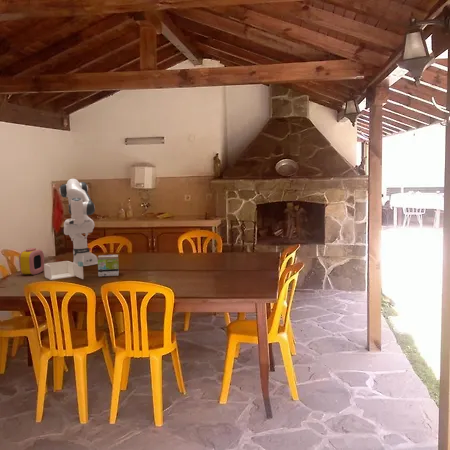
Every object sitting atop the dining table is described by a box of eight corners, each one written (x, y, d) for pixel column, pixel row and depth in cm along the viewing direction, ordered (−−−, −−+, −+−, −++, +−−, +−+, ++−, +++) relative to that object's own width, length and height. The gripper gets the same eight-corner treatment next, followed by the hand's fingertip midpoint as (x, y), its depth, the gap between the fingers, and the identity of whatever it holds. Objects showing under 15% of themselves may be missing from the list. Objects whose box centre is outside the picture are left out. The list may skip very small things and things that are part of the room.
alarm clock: (32, 276, 373) (30, 250, 371) (19, 276, 375) (17, 250, 373) (45, 271, 391) (44, 247, 389) (33, 271, 393) (31, 246, 391)
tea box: (98, 277, 364) (97, 257, 363) (98, 274, 374) (97, 255, 373) (119, 275, 367) (118, 256, 366) (119, 273, 377) (118, 253, 375)
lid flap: (73, 275, 367) (72, 259, 366) (76, 275, 368) (75, 259, 367) (81, 279, 353) (80, 262, 352) (84, 278, 355) (83, 262, 353)
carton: (68, 273, 380) (67, 260, 379) (75, 276, 369) (74, 263, 368) (44, 277, 369) (43, 263, 368) (50, 280, 358) (49, 266, 357)
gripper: (90, 219, 362) (91, 237, 363) (62, 221, 349) (63, 241, 351) (93, 219, 357) (94, 238, 358) (65, 222, 344) (66, 242, 346)
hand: (79, 239), depth 354 cm, fingers open, 8 cm apart
